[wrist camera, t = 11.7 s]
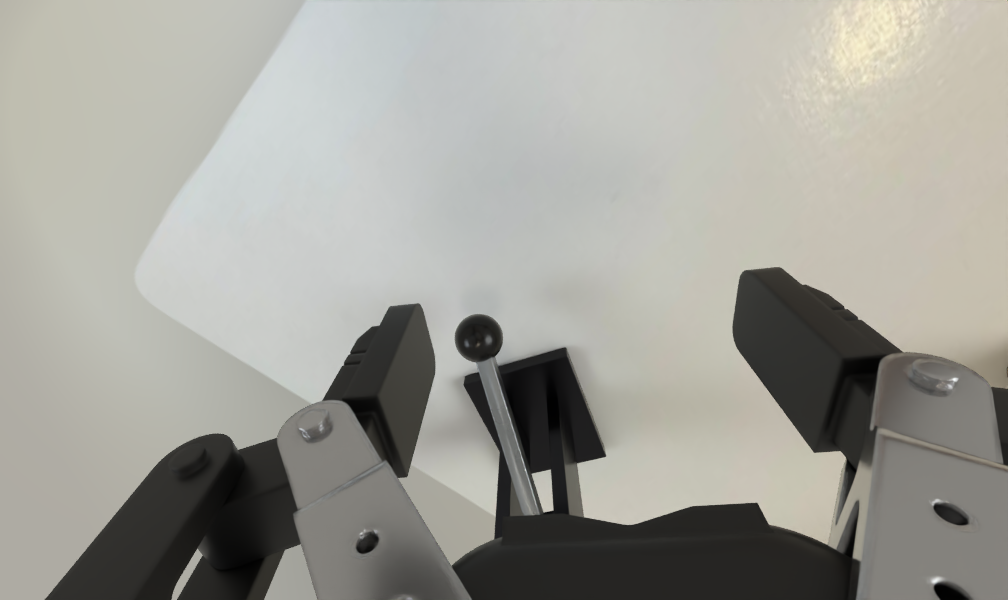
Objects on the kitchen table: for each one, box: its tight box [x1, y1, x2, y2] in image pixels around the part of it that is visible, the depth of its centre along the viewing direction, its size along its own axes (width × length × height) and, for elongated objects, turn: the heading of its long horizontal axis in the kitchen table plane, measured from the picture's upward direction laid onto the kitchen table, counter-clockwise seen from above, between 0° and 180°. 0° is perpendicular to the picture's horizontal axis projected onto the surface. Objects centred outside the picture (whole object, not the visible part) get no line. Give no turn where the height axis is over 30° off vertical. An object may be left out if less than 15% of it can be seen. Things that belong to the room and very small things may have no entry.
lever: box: [455, 314, 554, 516], centre depth 29 cm, size 17×3×3 cm, turn 21°
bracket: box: [464, 348, 606, 539], centre depth 33 cm, size 12×9×14 cm
